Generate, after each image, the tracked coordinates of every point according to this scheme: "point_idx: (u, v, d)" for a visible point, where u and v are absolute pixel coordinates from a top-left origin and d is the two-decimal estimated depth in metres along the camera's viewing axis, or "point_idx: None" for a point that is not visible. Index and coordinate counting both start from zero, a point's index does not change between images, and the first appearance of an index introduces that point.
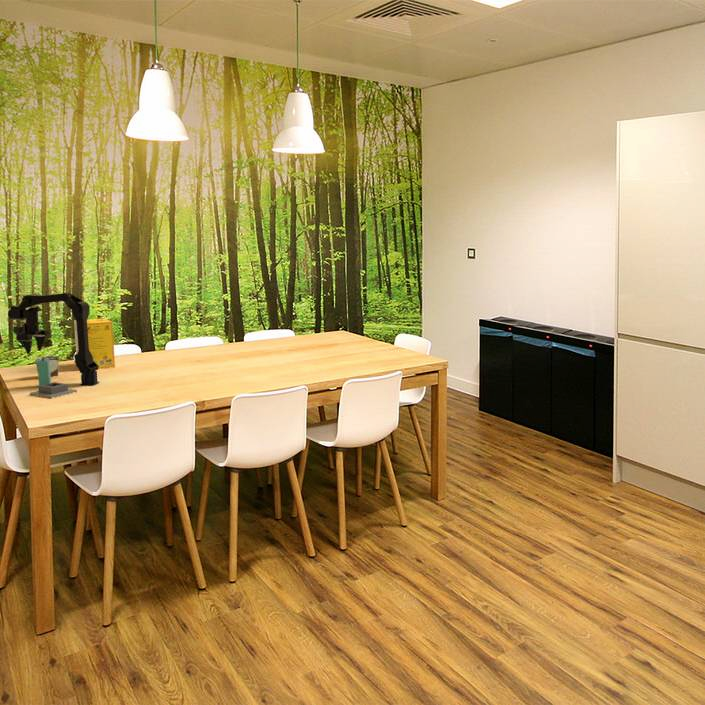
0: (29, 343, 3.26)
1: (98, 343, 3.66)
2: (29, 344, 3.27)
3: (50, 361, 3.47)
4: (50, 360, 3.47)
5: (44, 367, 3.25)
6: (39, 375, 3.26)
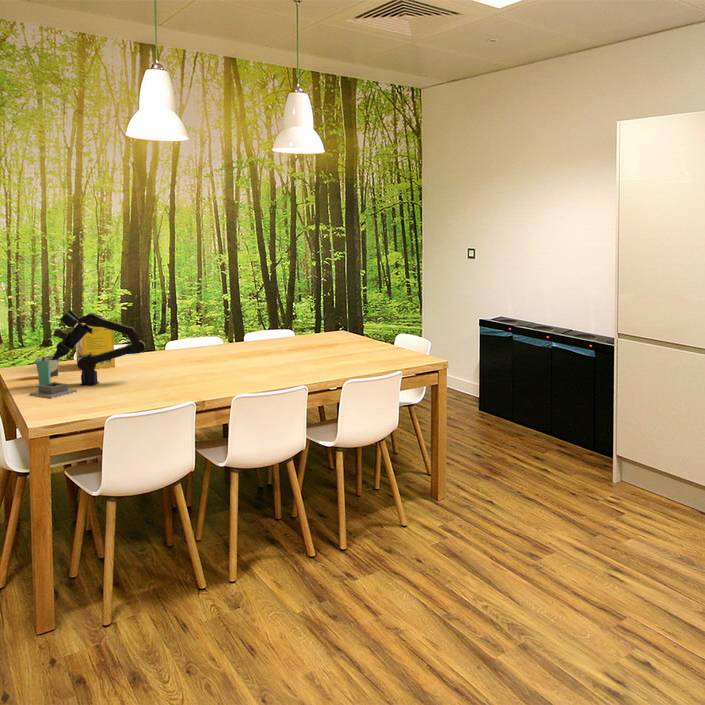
0: (63, 354, 3.22)
1: (98, 343, 3.66)
2: (62, 355, 3.22)
3: (50, 361, 3.47)
4: (50, 360, 3.47)
5: (44, 367, 3.25)
6: (39, 375, 3.26)
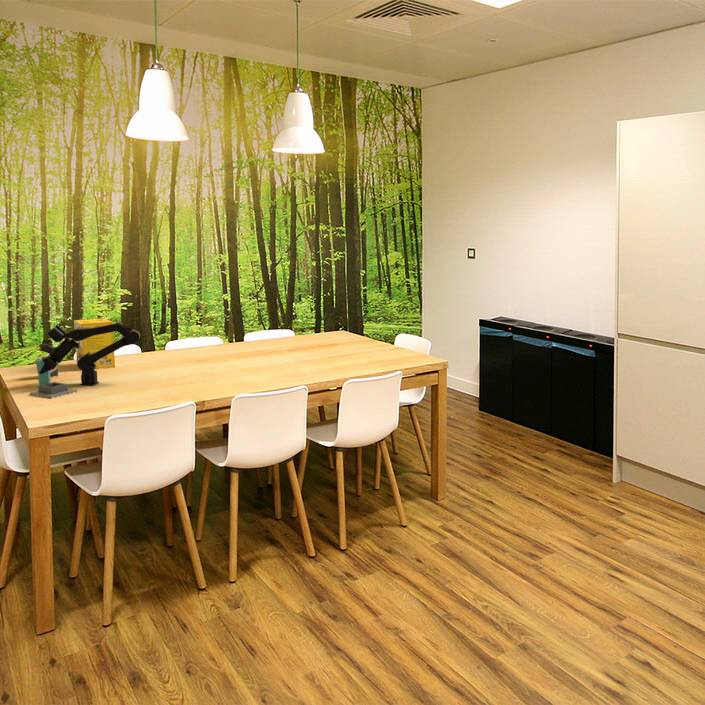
0: (50, 368, 3.24)
1: (98, 343, 3.66)
2: (49, 369, 3.24)
3: None
4: None
5: None
6: (39, 375, 3.26)
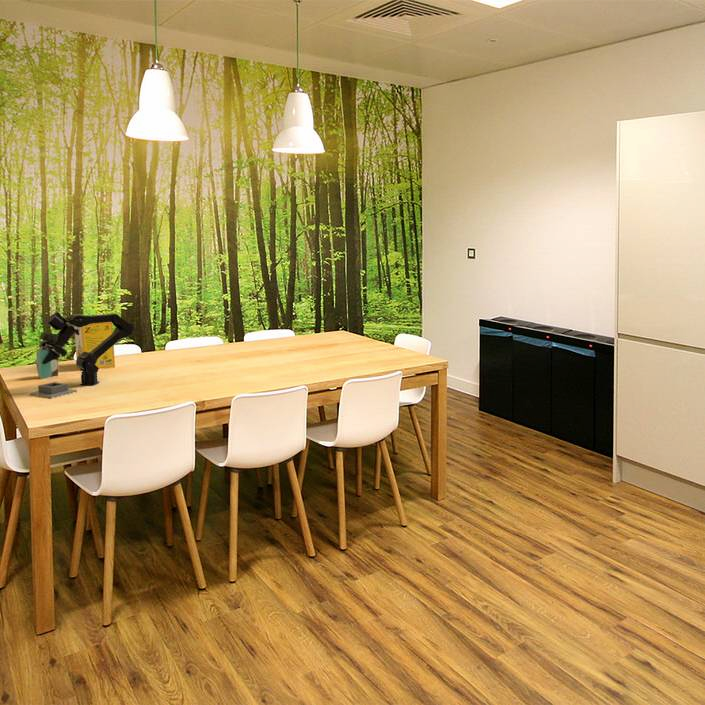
0: (56, 357, 3.16)
1: (98, 343, 3.66)
2: (54, 357, 3.16)
3: None
4: None
5: None
6: (42, 365, 3.14)
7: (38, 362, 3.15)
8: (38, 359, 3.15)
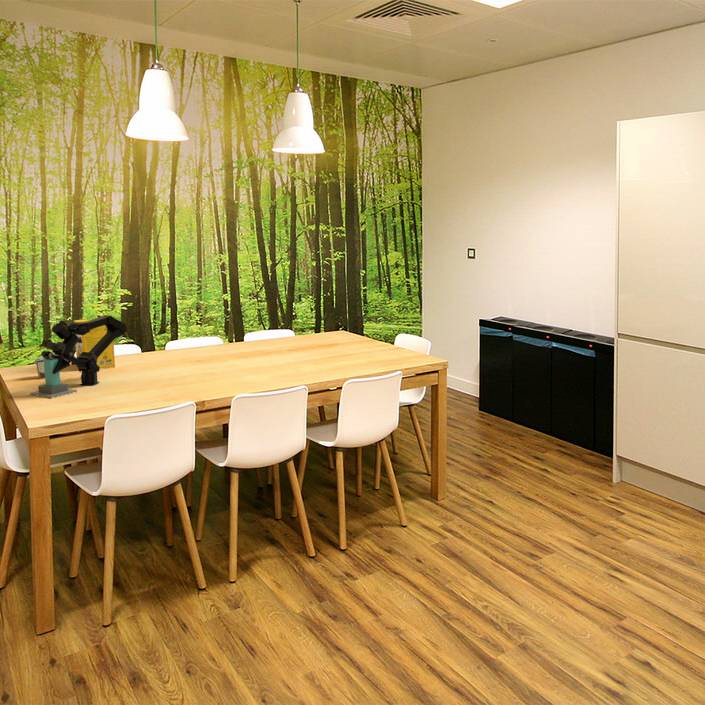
0: (65, 366, 3.14)
1: None
2: (64, 367, 3.14)
3: None
4: None
5: None
6: (52, 375, 3.11)
7: (47, 372, 3.11)
8: (47, 369, 3.11)
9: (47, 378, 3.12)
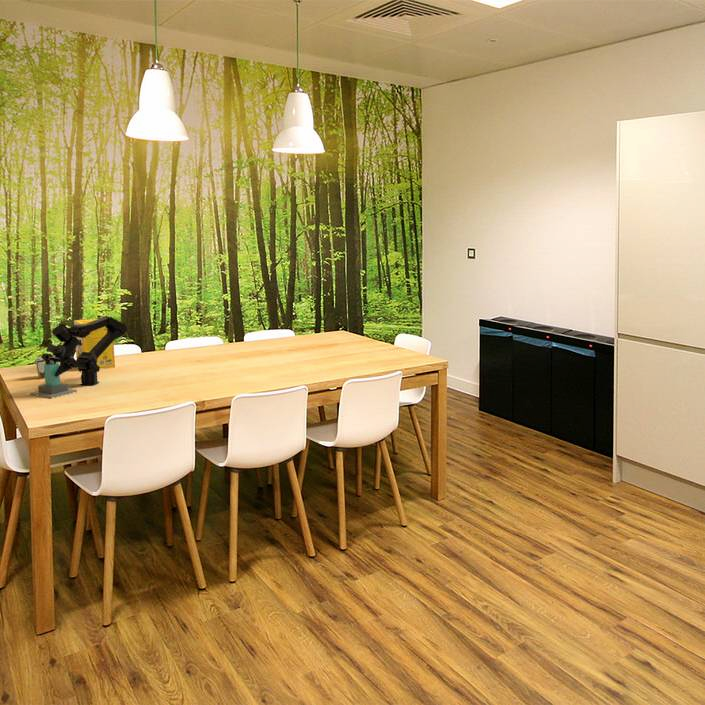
0: (67, 369, 3.14)
1: None
2: (66, 370, 3.14)
3: None
4: None
5: (56, 370, 3.12)
6: (52, 380, 3.11)
7: (47, 377, 3.12)
8: (47, 374, 3.11)
9: (47, 383, 3.12)
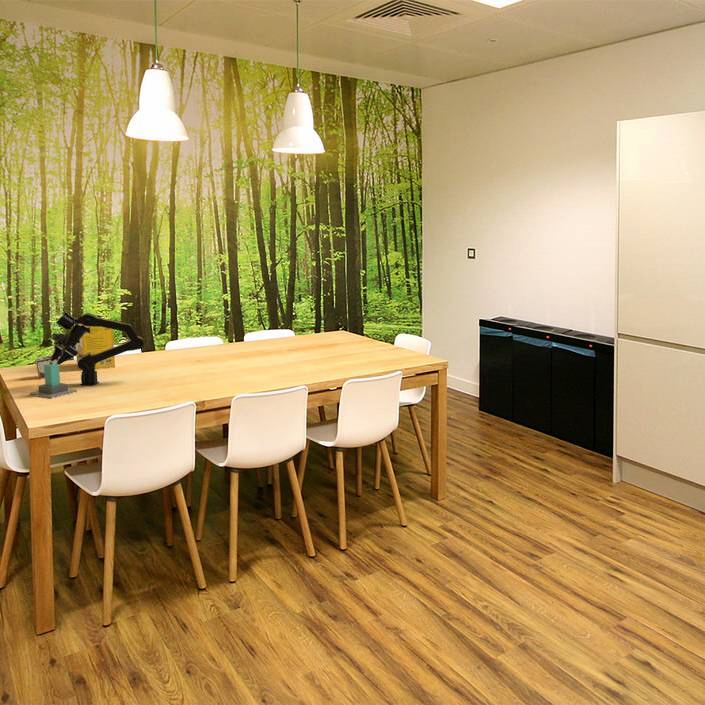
0: (69, 357, 3.21)
1: (98, 343, 3.66)
2: (68, 358, 3.21)
3: None
4: (50, 360, 3.47)
5: (56, 370, 3.12)
6: (52, 380, 3.11)
7: (47, 377, 3.12)
8: (47, 374, 3.11)
9: (47, 383, 3.12)
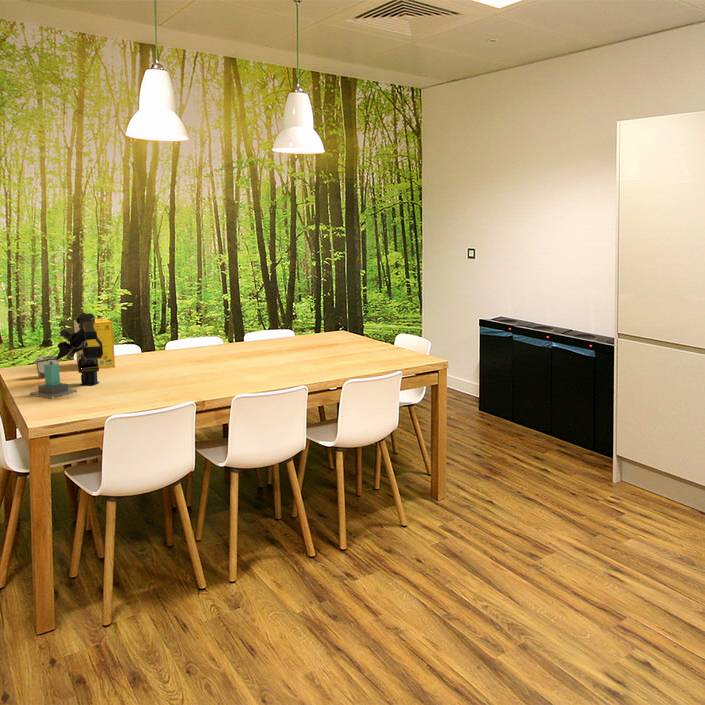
0: None
1: None
2: (64, 355, 3.28)
3: None
4: (50, 360, 3.47)
5: (56, 370, 3.12)
6: (52, 380, 3.11)
7: (47, 377, 3.12)
8: (47, 374, 3.11)
9: (47, 383, 3.12)
